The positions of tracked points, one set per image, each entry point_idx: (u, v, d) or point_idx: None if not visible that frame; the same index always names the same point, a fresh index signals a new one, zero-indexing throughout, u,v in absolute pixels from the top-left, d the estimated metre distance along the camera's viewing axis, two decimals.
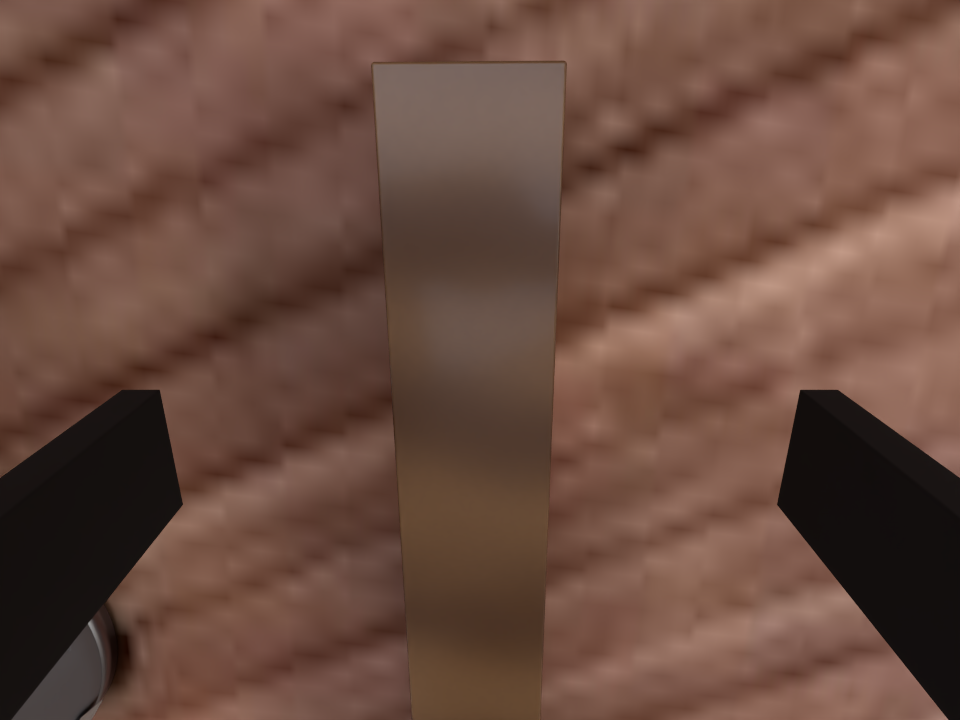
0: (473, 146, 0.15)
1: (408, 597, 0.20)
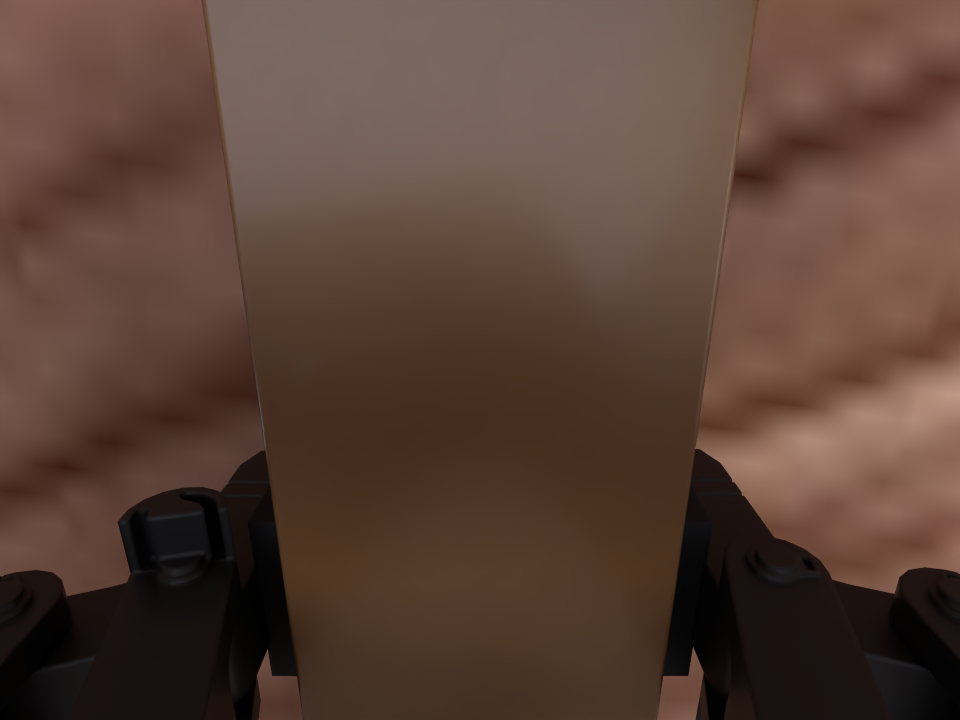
0: (489, 198, 0.06)
1: None
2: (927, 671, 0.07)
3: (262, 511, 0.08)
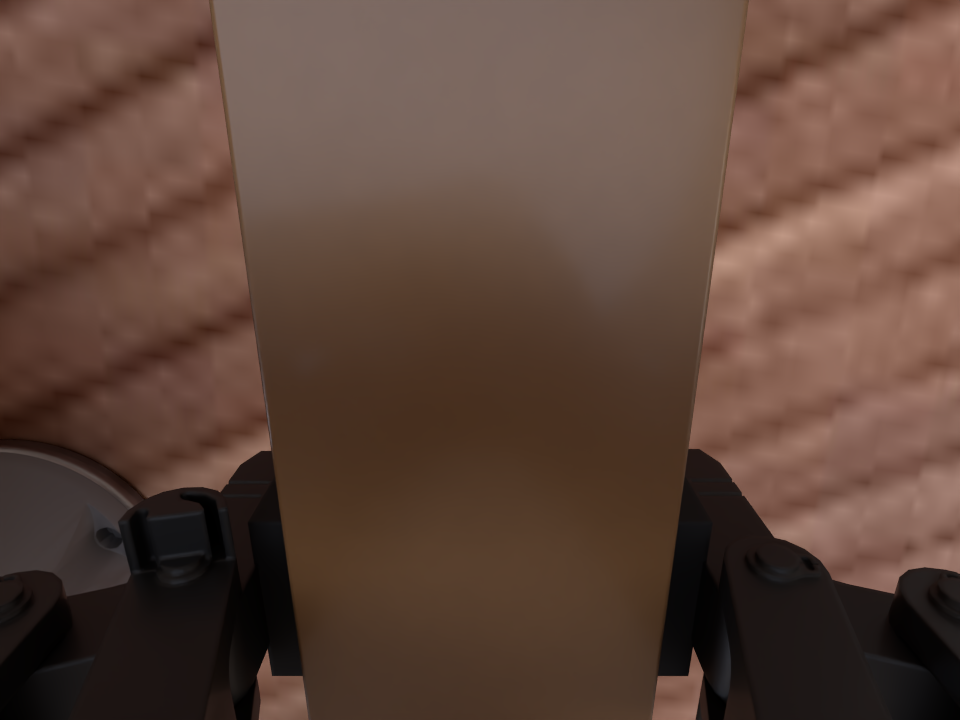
0: (489, 190, 0.06)
1: None
2: (926, 670, 0.07)
3: (262, 511, 0.08)
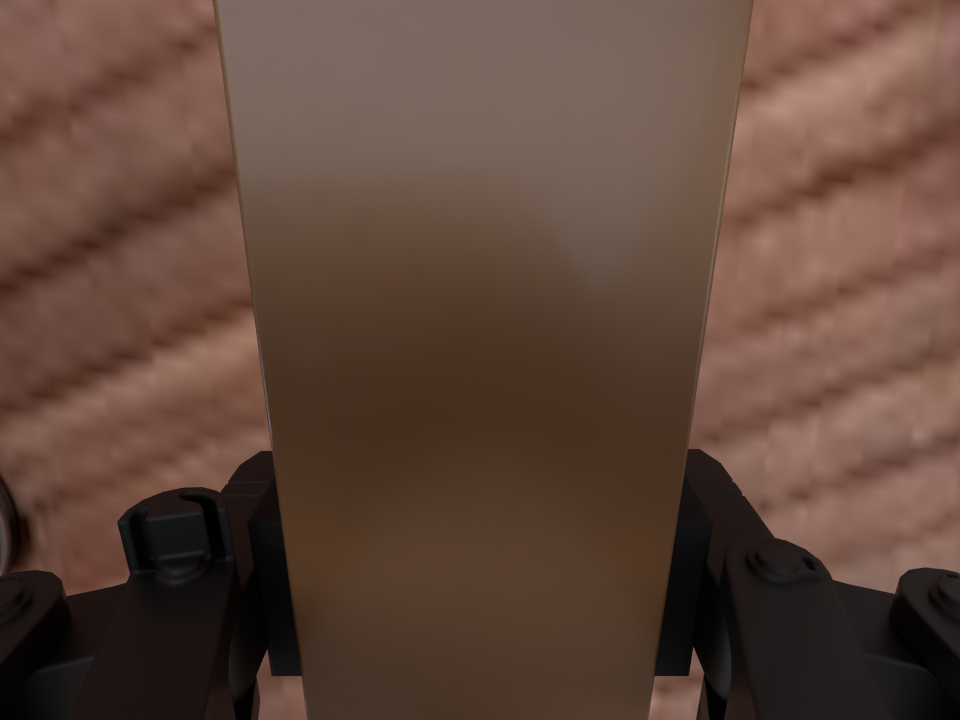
0: (491, 187, 0.06)
1: None
2: (927, 671, 0.07)
3: (262, 511, 0.08)
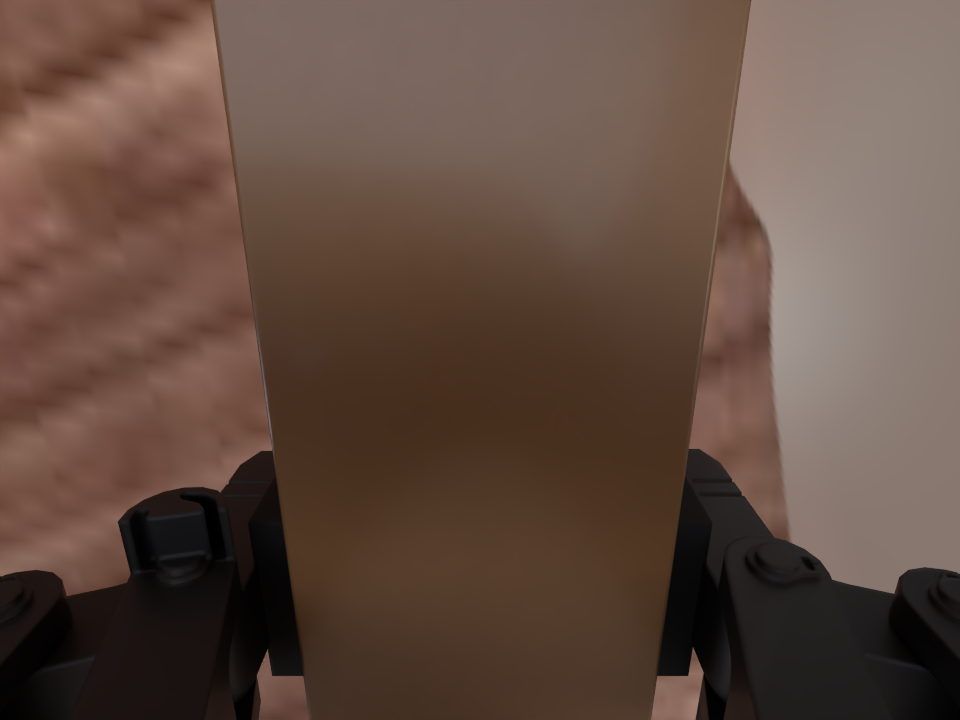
0: (490, 187, 0.06)
1: None
2: (926, 671, 0.07)
3: (262, 511, 0.08)
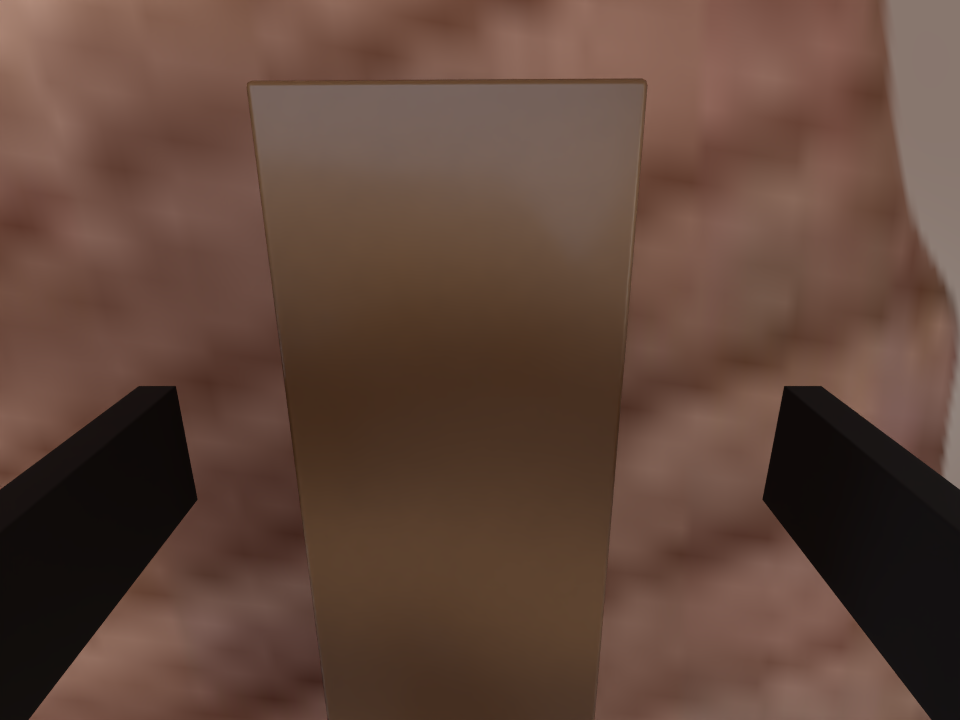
0: (457, 246, 0.08)
1: None
2: None
3: None
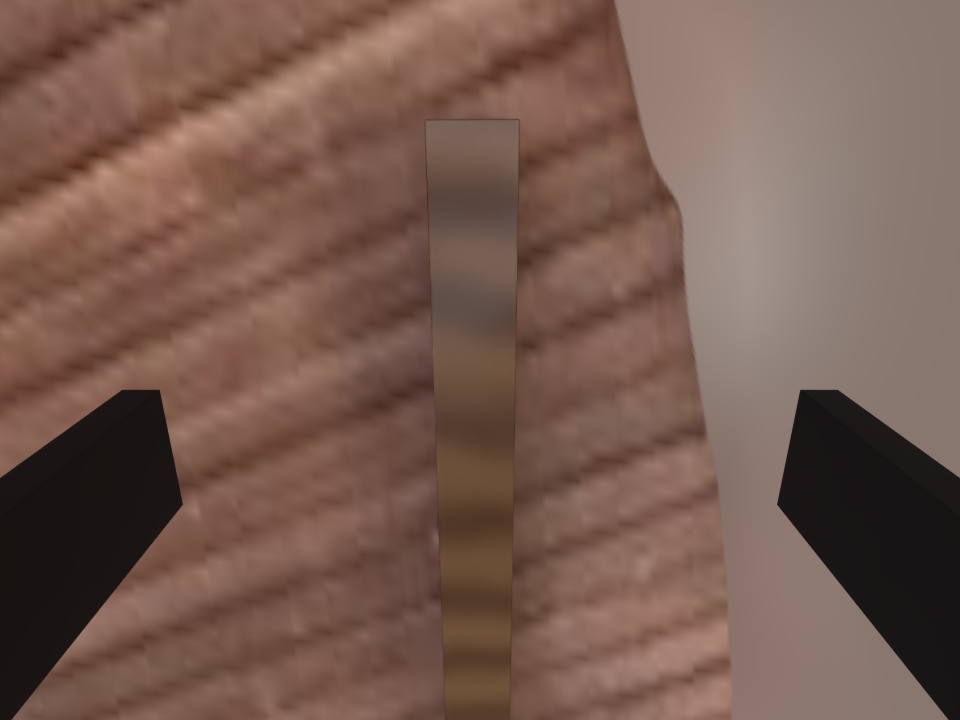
0: (474, 160, 0.30)
1: (437, 413, 0.35)
2: None
3: None
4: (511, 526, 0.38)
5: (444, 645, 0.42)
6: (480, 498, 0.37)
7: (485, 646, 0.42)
